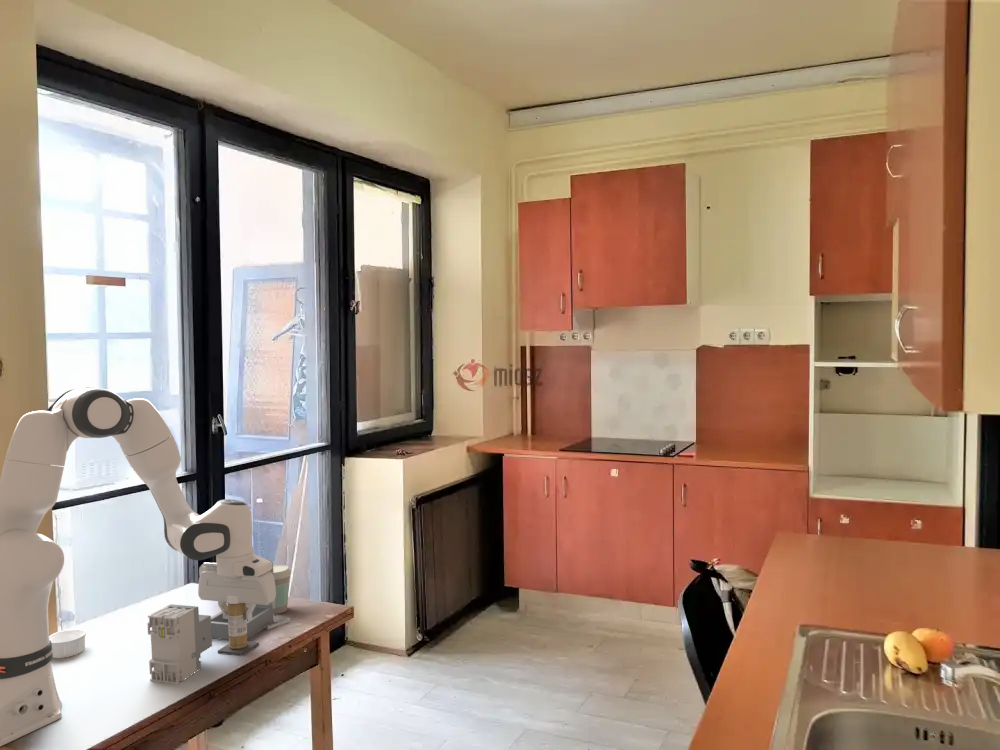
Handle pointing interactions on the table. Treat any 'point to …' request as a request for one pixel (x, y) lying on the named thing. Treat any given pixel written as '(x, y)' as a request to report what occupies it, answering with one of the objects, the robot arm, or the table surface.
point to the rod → (277, 623)
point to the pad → (238, 651)
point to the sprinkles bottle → (236, 623)
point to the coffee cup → (281, 587)
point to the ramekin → (67, 643)
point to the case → (259, 619)
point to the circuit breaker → (177, 642)
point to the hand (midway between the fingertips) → (237, 618)
